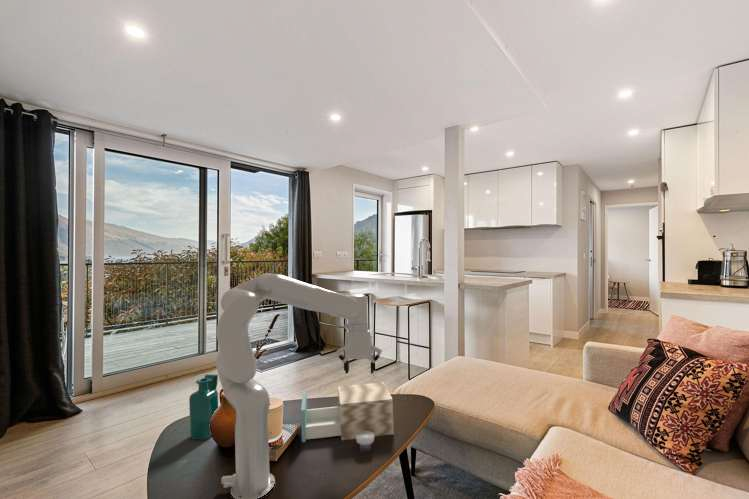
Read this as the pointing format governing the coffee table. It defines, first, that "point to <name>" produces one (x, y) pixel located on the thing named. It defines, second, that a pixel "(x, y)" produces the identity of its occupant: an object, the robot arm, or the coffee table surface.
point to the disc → (365, 437)
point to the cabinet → (365, 410)
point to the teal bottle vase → (203, 406)
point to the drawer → (319, 421)
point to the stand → (365, 448)
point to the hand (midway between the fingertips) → (359, 372)
